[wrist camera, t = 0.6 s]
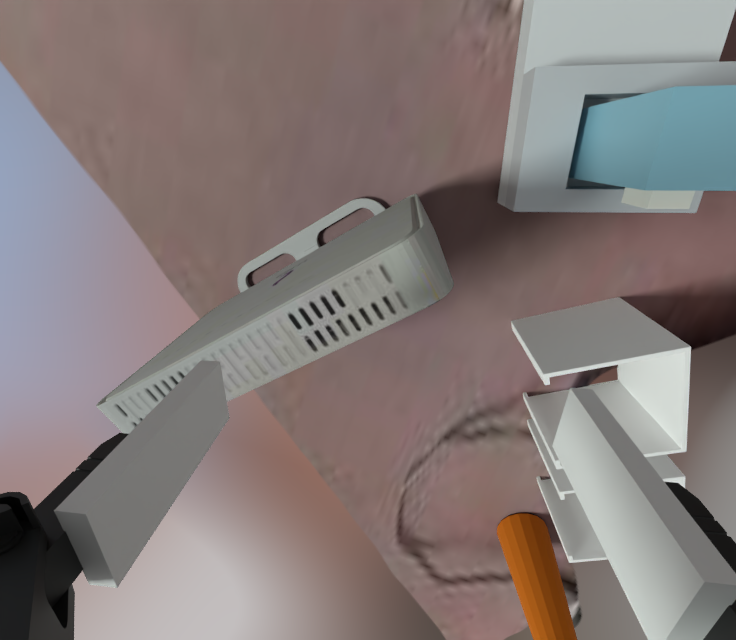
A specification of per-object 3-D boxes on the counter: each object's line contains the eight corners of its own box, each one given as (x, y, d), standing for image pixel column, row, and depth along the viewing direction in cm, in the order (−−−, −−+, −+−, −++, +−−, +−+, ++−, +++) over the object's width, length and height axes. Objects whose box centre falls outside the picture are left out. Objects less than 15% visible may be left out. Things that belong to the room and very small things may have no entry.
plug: (576, 110, 30) (674, 86, 19) (642, 109, 29) (782, 84, 18) (560, 191, 32) (638, 212, 21) (620, 191, 32) (732, 213, 21)
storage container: (625, 469, 48) (682, 552, 38) (537, 481, 50) (569, 562, 40) (618, 296, 39) (691, 346, 29) (510, 320, 41) (543, 374, 31)
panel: (544, -155, 26) (581, -236, 20) (762, -172, 25) (864, -264, 19) (497, 202, 36) (513, 211, 30) (650, 203, 35) (696, 212, 29)
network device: (405, 168, 35) (403, 186, 17) (444, 247, 38) (478, 335, 20) (207, 287, 43) (60, 387, 24) (252, 346, 45) (150, 476, 27)
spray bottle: (493, 494, 52) (568, 787, 28) (557, 524, 53) (680, 829, 29) (465, 523, 55) (511, 810, 31) (526, 550, 56) (615, 847, 32)
